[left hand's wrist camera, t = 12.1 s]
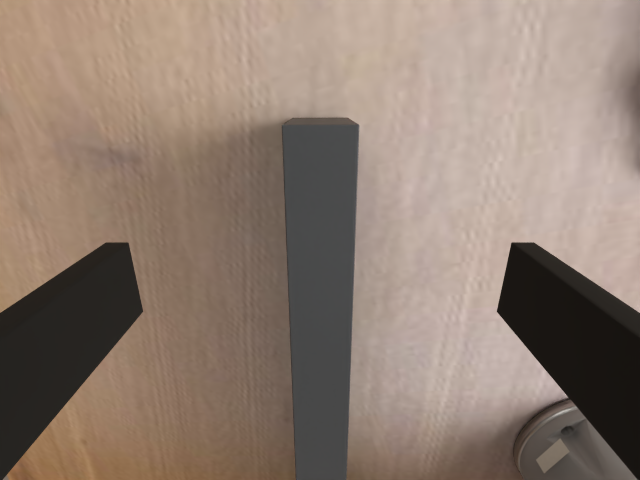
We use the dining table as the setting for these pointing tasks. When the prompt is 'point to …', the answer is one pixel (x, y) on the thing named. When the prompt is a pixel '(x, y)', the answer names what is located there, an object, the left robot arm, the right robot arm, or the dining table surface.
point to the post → (320, 286)
